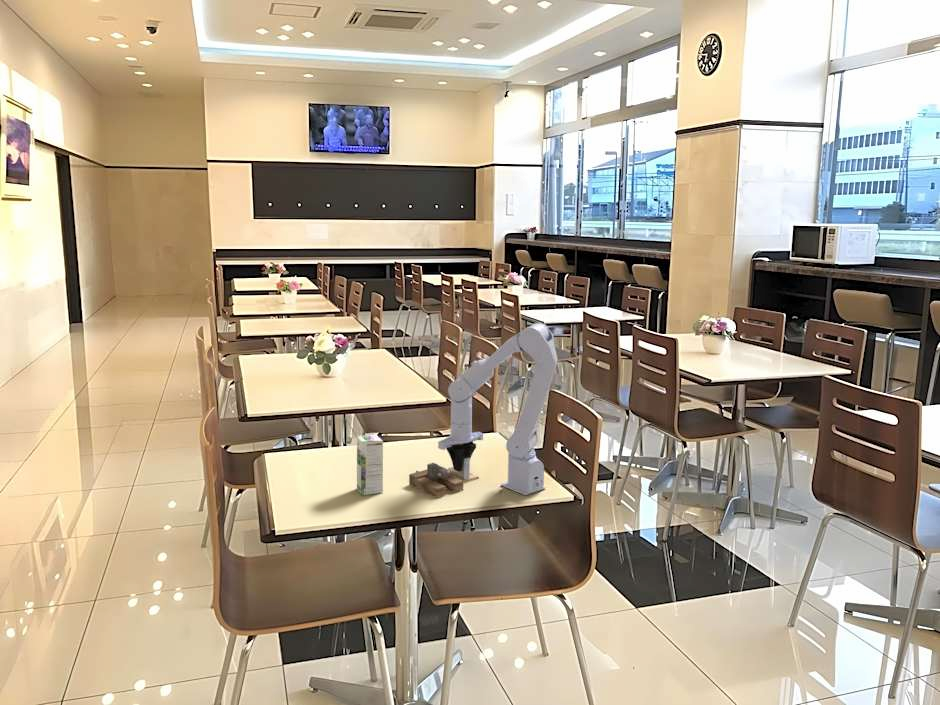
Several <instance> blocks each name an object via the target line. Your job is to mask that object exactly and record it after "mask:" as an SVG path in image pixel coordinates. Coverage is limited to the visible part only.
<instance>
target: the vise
mask: <svg viewBox="0 0 940 705" xmlns="http://www.w3.org/2000/svg"><path fill="white" fill-rule="evenodd" d="M426 466H427V469H423V470H420V471H418V470H416V471H415V472H412V473H409V474H408V475H409V478H408V479H409V480H408V482H409V484H408V485H409V486H410V487H413V488H414V489H415V488H416V489H418V490H419V491H422V492H423V493H426V494H428V495H430V496H433V497H434V496H435V497H434V498H436V499H437V498H441V496H442V497H445V496H446V495H447V491H446V490H449V491H451V492H454V493H457V492H460V491H463V490H464V483H463V481H461V480H459V479H457V478H454V477H452V476H450V475H448V468H445V467H444V466H441V465H439V464H437V463H435V462H431V463H428V464H427V465H426ZM444 495H445V496H444Z"/></svg>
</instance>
